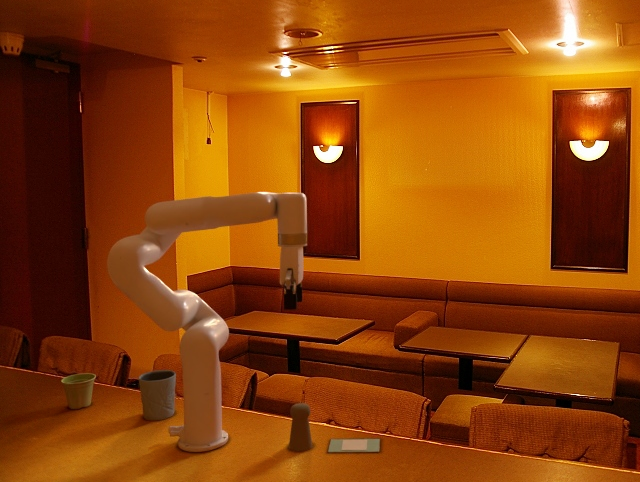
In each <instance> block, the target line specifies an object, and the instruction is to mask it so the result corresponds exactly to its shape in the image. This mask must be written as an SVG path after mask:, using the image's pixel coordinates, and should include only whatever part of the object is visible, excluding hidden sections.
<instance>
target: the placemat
mask: <svg viewBox="0 0 640 482" xmlns="http://www.w3.org/2000/svg"><path fill="white" fill-rule="evenodd" d="M380 442H381V439H380V438H331V439H330V442H329V446H328V451H327V453H329V454H330V453H331V454H332V453H335V454H336V453H337V454H338V453H344V454H345V453H380V448H381V447H380Z"/></svg>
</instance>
